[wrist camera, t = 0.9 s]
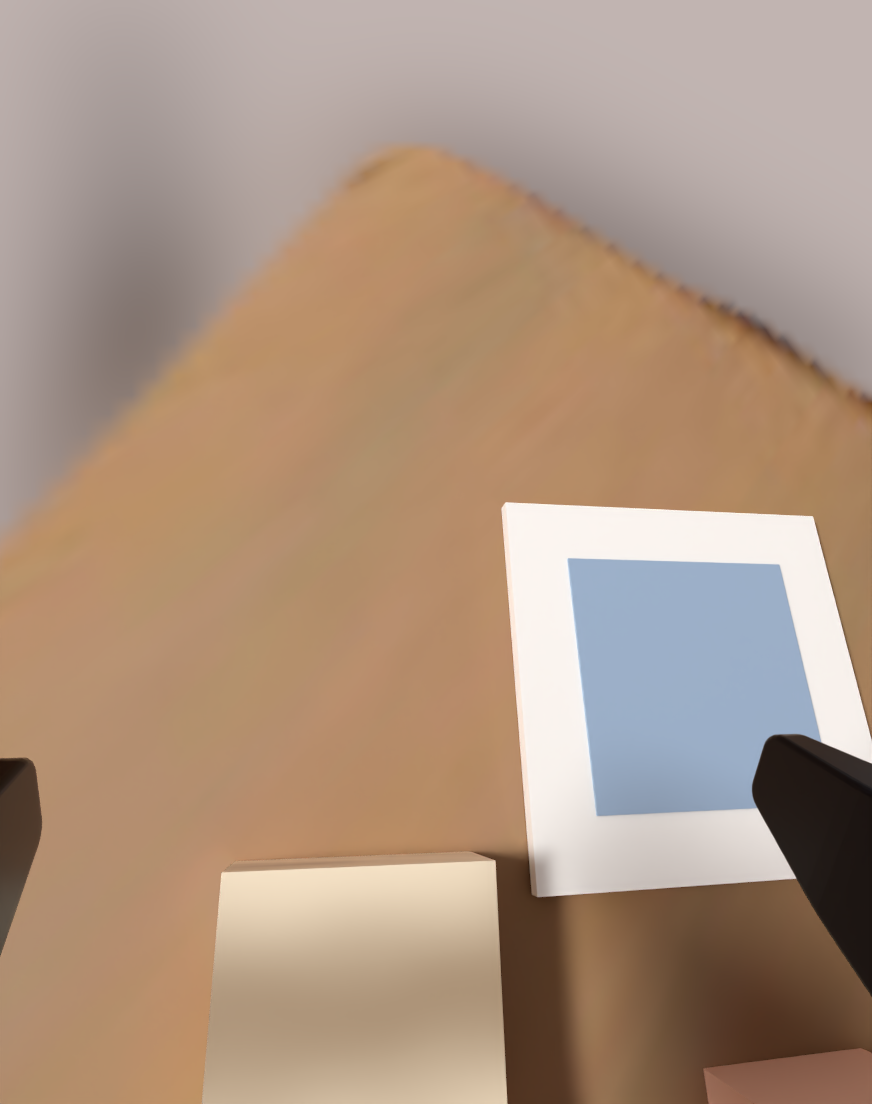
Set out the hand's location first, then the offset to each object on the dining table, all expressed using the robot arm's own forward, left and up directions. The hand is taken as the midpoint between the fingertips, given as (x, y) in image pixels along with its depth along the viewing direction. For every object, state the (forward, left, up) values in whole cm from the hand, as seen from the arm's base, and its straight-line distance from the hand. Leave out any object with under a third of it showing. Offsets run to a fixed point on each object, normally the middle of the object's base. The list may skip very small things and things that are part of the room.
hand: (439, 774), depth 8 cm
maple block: (-5, 0, -12) cm, 13 cm away
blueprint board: (+3, -11, -11) cm, 16 cm away
